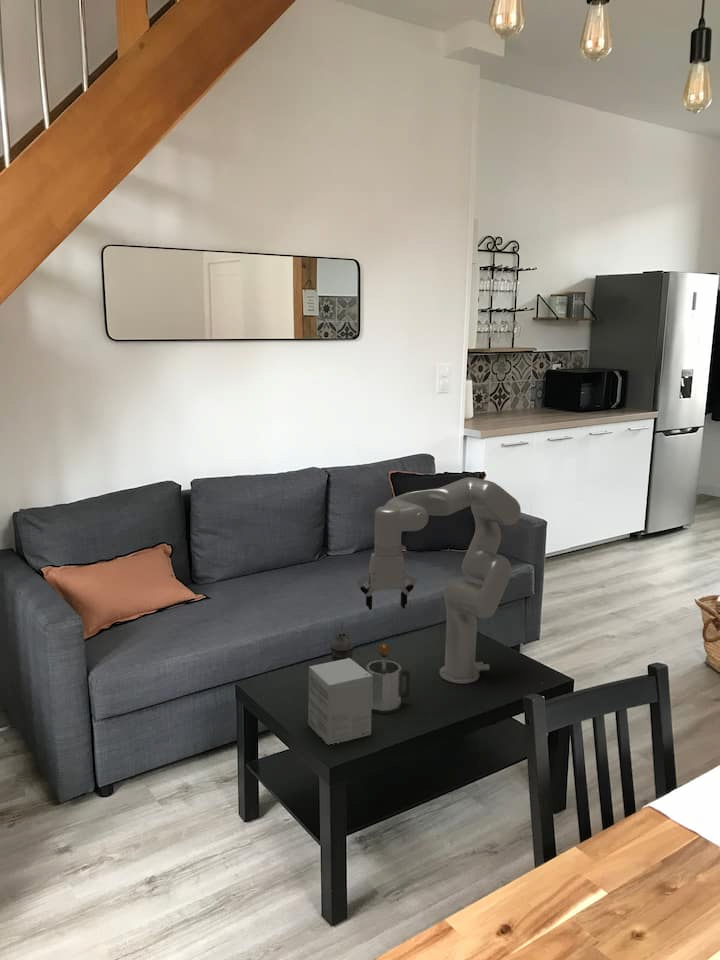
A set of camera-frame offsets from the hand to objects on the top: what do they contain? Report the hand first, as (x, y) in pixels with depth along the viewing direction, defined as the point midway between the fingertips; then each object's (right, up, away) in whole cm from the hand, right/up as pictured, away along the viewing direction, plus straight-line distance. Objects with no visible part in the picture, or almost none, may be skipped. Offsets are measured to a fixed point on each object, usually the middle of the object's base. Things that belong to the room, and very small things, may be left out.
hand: (386, 607), depth 223 cm
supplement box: (-13, -32, -9) cm, 36 cm away
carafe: (0, -30, +6) cm, 30 cm away
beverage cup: (-13, -27, +20) cm, 36 cm away
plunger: (-1, -27, +5) cm, 27 cm away
